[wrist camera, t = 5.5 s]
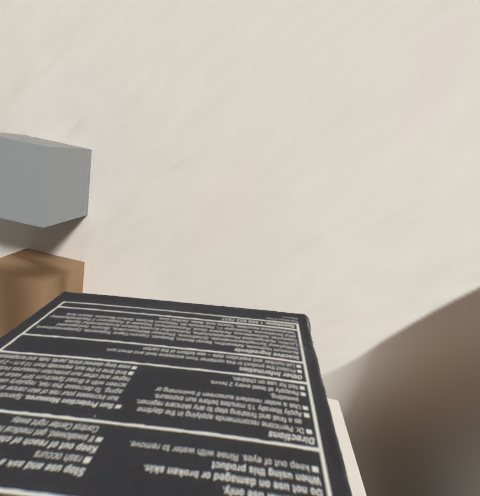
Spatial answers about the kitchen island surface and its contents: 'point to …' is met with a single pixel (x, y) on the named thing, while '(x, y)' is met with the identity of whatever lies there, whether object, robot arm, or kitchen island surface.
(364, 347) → the kitchen island surface
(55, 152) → the slate-grey block
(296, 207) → the kitchen island surface
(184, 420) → the small box
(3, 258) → the walnut block
